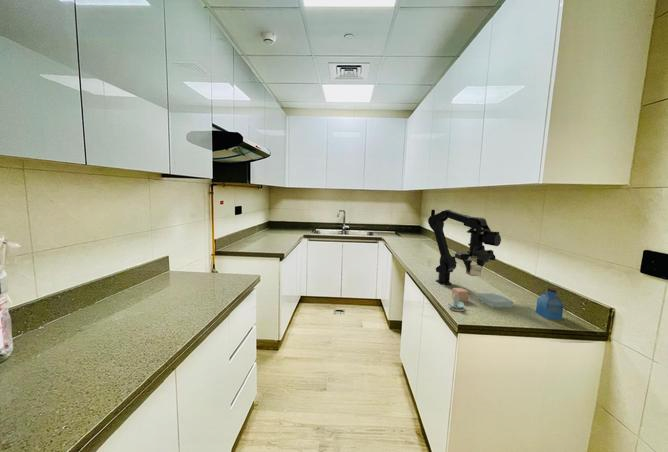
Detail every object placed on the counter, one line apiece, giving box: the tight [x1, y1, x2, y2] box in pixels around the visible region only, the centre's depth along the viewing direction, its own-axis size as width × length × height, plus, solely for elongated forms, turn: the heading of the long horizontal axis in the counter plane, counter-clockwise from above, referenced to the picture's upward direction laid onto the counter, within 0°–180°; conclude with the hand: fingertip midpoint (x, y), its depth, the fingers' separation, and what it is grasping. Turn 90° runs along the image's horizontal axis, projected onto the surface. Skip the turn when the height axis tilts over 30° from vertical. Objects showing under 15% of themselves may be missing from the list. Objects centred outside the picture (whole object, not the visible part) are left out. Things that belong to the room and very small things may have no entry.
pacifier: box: [447, 294, 466, 312], centre depth 116 cm, size 7×6×6 cm
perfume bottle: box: [535, 286, 565, 321], centre depth 112 cm, size 6×6×12 cm
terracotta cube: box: [451, 287, 469, 303], centre depth 127 cm, size 5×5×5 cm
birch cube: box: [465, 263, 483, 277], centre depth 136 cm, size 5×5×5 cm
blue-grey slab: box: [477, 292, 514, 308], centre depth 125 cm, size 10×10×3 cm
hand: (473, 272), depth 136 cm, fingers closed on birch cube, 5 cm apart
